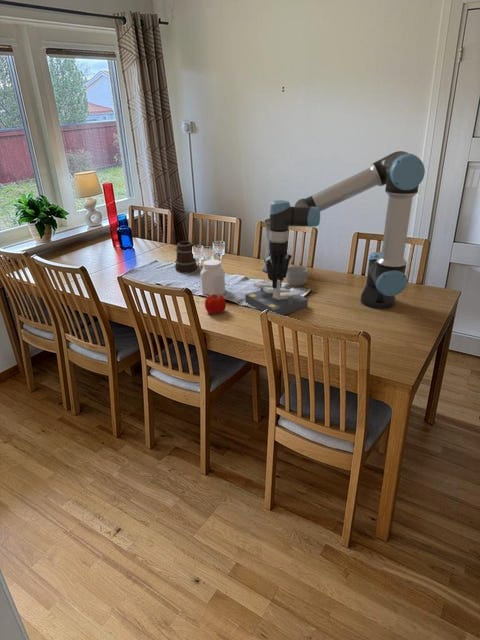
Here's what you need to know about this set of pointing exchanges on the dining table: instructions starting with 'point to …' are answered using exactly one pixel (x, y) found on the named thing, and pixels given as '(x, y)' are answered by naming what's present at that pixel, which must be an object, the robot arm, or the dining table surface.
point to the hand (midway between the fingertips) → (276, 294)
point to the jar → (213, 278)
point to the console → (275, 302)
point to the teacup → (297, 275)
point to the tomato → (215, 304)
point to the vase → (267, 242)
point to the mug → (185, 257)
